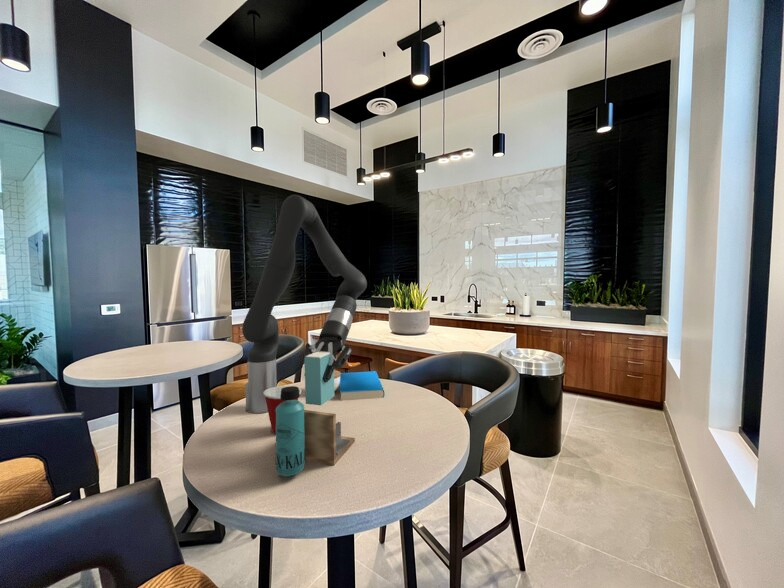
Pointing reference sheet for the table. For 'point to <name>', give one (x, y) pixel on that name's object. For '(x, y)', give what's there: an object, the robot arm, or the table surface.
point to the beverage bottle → (290, 433)
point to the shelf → (324, 438)
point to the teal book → (317, 379)
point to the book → (360, 385)
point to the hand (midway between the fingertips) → (316, 379)
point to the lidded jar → (336, 379)
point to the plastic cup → (274, 403)
